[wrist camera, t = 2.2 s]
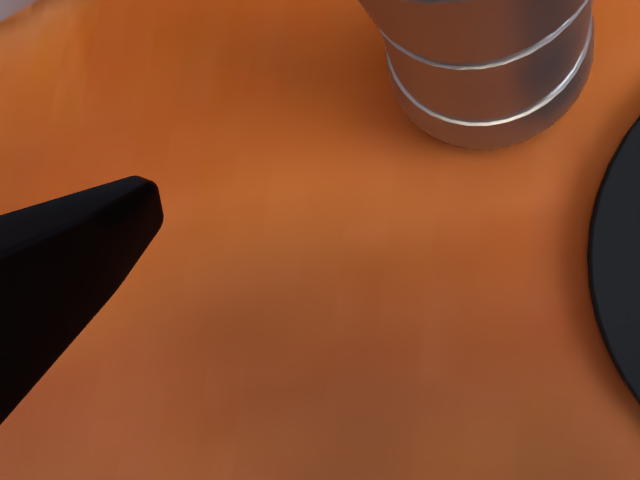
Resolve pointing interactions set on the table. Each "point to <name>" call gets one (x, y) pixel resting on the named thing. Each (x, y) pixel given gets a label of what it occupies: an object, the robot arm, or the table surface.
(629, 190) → the ring
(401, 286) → the table surface
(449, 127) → the plastic bottle
